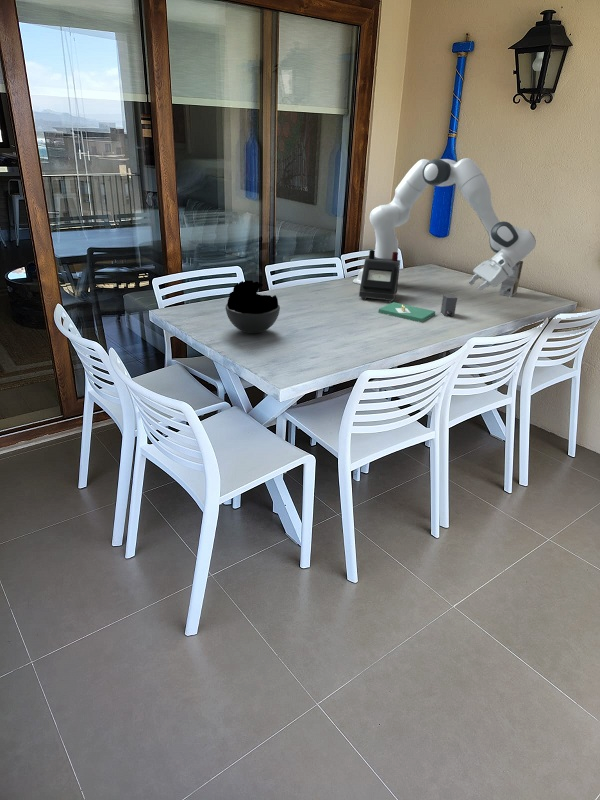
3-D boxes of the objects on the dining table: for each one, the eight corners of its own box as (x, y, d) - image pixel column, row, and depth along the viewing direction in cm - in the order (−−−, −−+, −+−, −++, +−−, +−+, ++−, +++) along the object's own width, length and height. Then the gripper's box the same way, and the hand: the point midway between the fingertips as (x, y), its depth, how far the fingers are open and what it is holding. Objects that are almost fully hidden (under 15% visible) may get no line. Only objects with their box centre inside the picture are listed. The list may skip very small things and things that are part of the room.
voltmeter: (358, 299, 249) (362, 255, 241) (363, 291, 264) (367, 249, 255) (393, 303, 246) (398, 259, 237) (396, 294, 261) (401, 252, 252)
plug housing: (440, 312, 236) (443, 294, 232) (450, 312, 236) (453, 294, 233) (444, 316, 231) (447, 297, 228) (454, 316, 232) (457, 298, 228)
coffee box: (503, 291, 273) (510, 258, 266) (516, 293, 270) (523, 260, 263) (498, 294, 267) (505, 261, 259) (511, 297, 263) (519, 263, 256)
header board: (378, 312, 233) (378, 308, 232) (393, 305, 243) (393, 301, 242) (421, 322, 222) (421, 318, 222) (434, 314, 233) (435, 310, 232)
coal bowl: (257, 320, 217) (257, 273, 209) (290, 334, 204) (291, 284, 195) (215, 329, 205) (214, 280, 196) (247, 345, 192) (246, 292, 183)
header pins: (402, 311, 229) (403, 307, 228) (400, 309, 233) (401, 304, 232) (405, 311, 229) (405, 307, 229) (402, 309, 233) (403, 304, 232)
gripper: (486, 253, 234) (461, 275, 237) (506, 263, 216) (478, 287, 219) (494, 263, 236) (469, 285, 240) (515, 275, 218) (487, 298, 221)
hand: (473, 286), depth 229 cm, fingers open, 8 cm apart
